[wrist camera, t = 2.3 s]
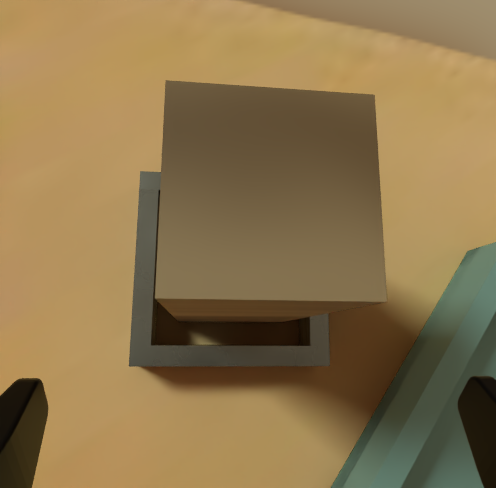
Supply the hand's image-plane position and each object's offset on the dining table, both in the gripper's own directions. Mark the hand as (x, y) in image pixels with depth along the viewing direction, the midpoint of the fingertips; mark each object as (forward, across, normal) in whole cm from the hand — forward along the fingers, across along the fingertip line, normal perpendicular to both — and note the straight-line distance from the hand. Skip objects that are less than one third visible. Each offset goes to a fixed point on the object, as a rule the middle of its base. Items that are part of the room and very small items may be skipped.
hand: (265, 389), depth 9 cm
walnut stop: (+10, 0, +5) cm, 11 cm away
